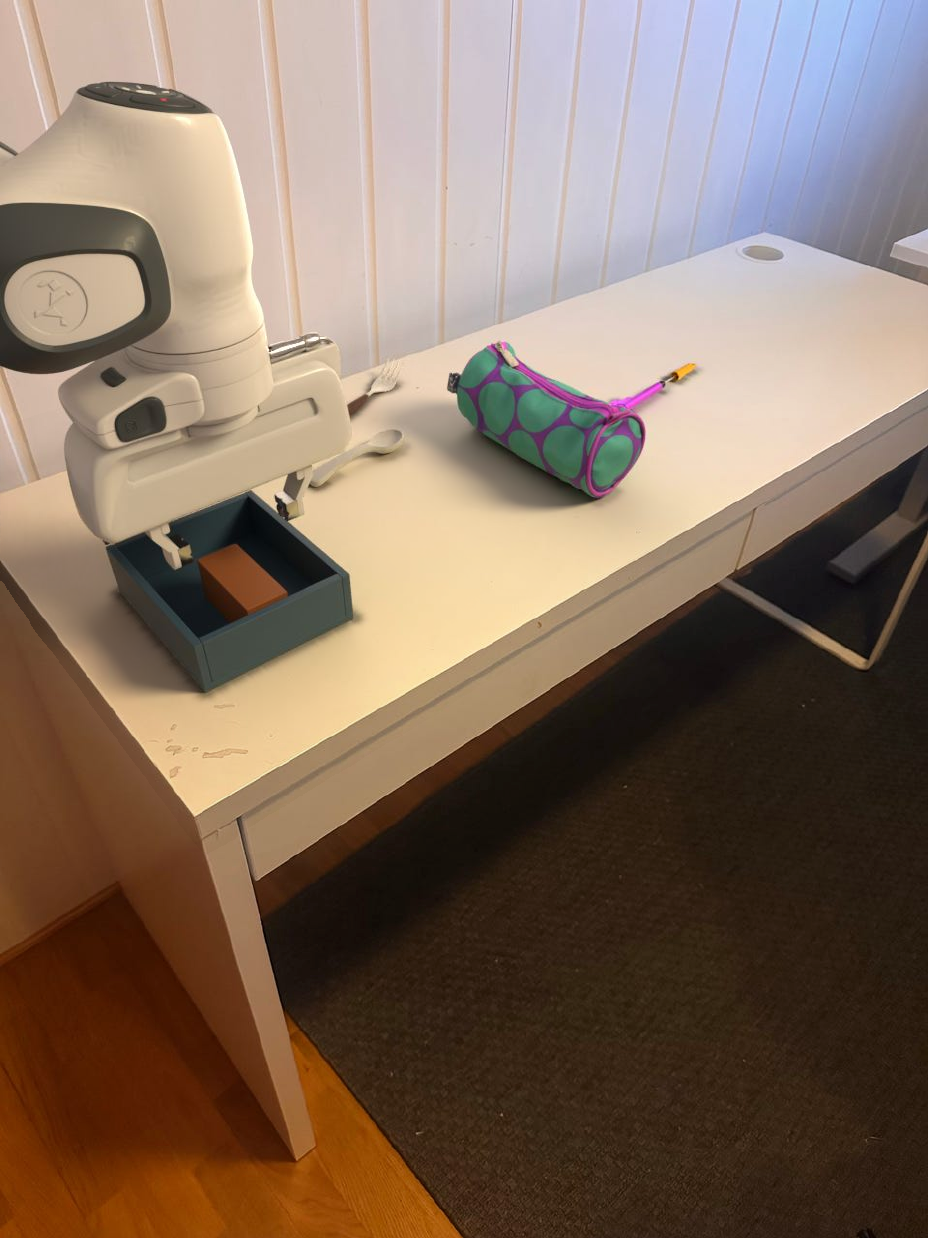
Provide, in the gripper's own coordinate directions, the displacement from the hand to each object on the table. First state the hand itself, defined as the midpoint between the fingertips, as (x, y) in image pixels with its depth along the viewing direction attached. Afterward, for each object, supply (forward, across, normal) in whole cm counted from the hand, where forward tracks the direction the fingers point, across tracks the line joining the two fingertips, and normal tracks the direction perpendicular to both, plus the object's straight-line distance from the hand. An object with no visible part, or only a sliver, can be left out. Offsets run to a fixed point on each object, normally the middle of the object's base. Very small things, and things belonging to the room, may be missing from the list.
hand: (237, 538), depth 68 cm
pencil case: (+9, -36, -4) cm, 37 cm away
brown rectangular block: (+8, 0, 0) cm, 8 cm away
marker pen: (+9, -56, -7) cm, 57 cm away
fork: (+9, -28, -25) cm, 38 cm away
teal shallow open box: (+8, 0, -3) cm, 9 cm away
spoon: (+9, -20, -15) cm, 26 cm away
